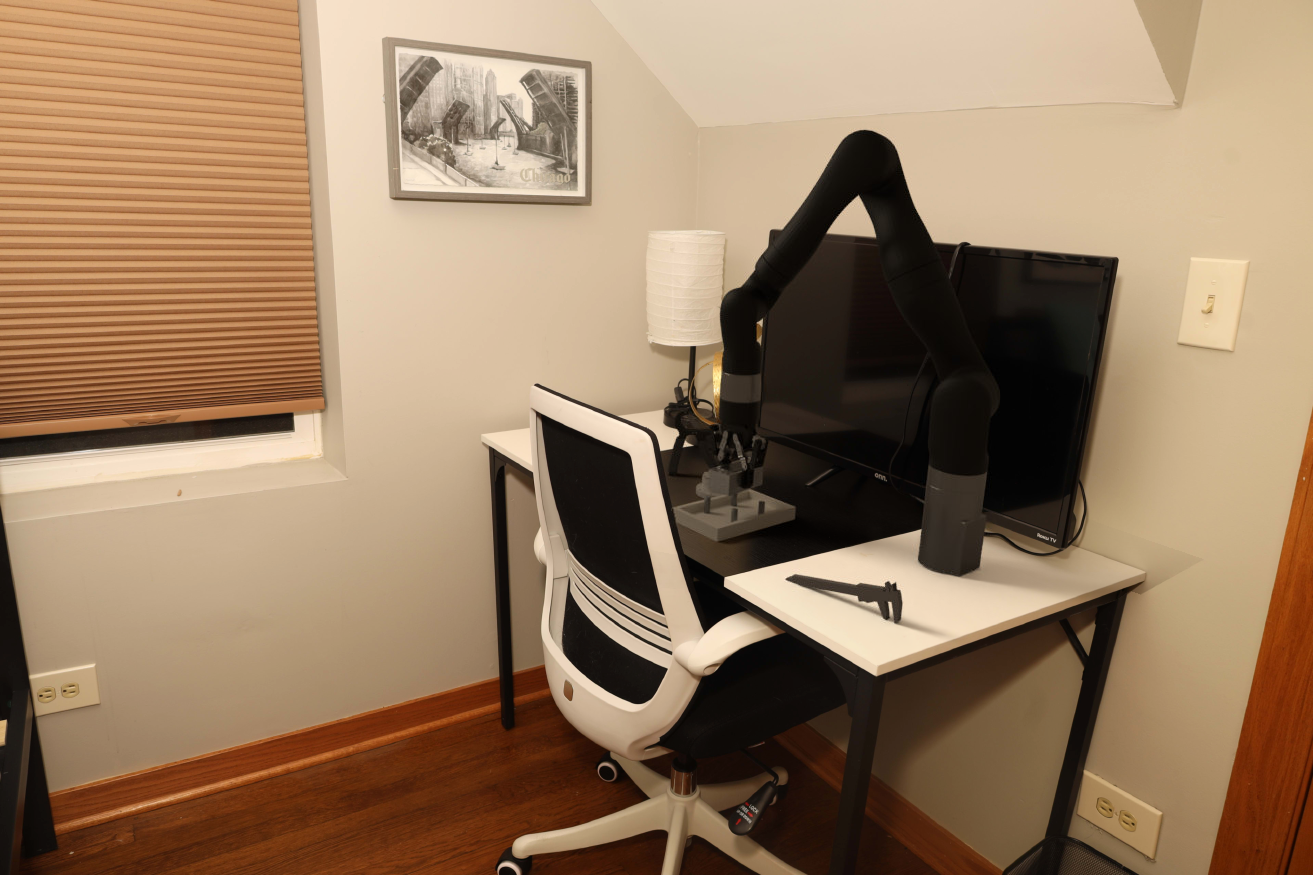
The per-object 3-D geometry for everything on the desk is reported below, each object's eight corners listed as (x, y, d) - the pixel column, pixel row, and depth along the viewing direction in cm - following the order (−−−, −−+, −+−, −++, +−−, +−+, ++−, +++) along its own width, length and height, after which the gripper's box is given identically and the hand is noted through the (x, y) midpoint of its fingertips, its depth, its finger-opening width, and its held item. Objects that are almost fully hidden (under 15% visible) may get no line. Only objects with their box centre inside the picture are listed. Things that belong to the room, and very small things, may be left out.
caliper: (900, 624, 128) (905, 584, 126) (896, 626, 127) (901, 586, 125) (788, 579, 141) (791, 543, 140) (784, 581, 141) (787, 545, 139)
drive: (762, 484, 166) (763, 464, 165) (728, 496, 159) (729, 475, 158) (741, 478, 169) (742, 458, 168) (708, 489, 162) (708, 468, 161)
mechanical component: (705, 504, 175) (751, 500, 177) (705, 483, 174) (752, 479, 176) (689, 488, 184) (733, 484, 187) (690, 468, 183) (734, 465, 185)
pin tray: (794, 519, 167) (796, 499, 166) (717, 541, 155) (718, 520, 154) (747, 500, 177) (748, 481, 176) (671, 520, 165) (672, 500, 164)
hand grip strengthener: (723, 481, 189) (726, 414, 184) (667, 476, 191) (668, 409, 187) (725, 477, 191) (728, 411, 187) (669, 472, 193) (670, 407, 189)
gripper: (782, 401, 156) (776, 490, 161) (728, 386, 167) (724, 470, 172) (752, 406, 152) (747, 497, 156) (699, 391, 163) (695, 476, 167)
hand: (735, 483), depth 164 cm, fingers closed on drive, 5 cm apart
